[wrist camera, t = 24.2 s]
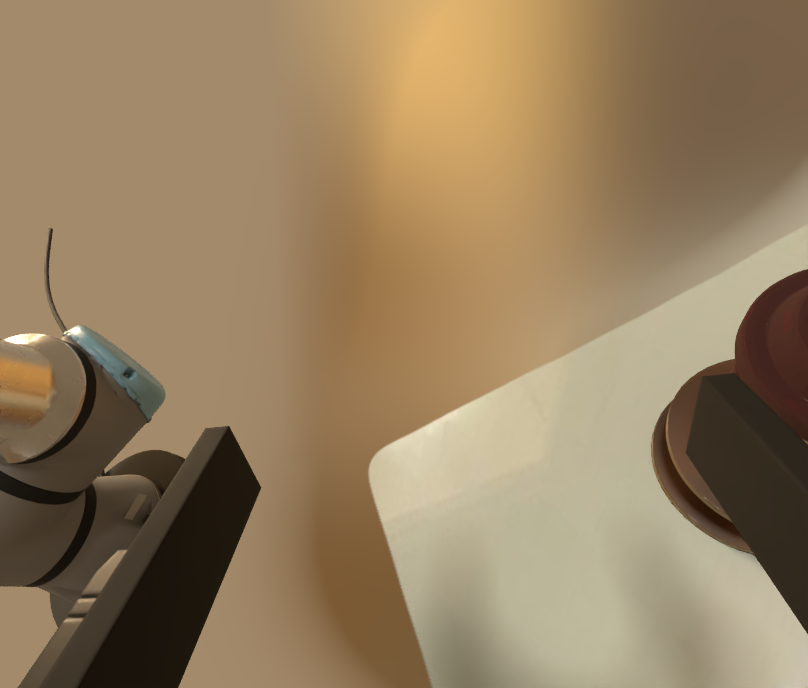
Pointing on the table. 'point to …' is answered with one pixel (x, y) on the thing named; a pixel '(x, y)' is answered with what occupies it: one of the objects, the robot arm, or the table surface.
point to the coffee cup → (778, 350)
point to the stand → (690, 464)
